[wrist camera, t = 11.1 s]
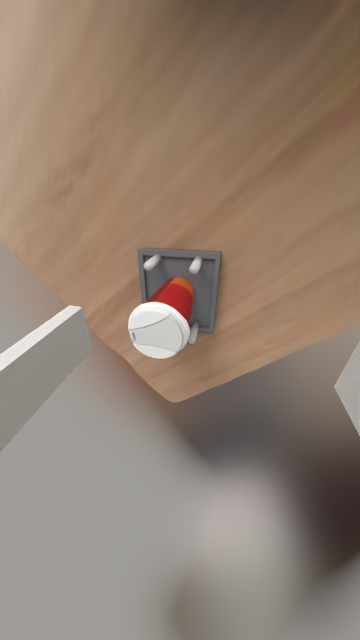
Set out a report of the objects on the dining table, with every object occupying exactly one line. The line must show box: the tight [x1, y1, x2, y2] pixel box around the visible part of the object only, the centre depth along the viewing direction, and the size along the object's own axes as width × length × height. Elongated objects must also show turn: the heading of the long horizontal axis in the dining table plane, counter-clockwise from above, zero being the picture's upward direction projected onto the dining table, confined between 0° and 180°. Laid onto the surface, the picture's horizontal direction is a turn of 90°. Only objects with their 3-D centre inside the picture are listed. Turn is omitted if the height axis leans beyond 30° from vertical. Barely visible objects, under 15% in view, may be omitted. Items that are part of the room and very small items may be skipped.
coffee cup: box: [128, 277, 194, 359], centre depth 34 cm, size 8×8×15 cm
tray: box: [138, 248, 221, 344], centre depth 38 cm, size 15×14×7 cm
